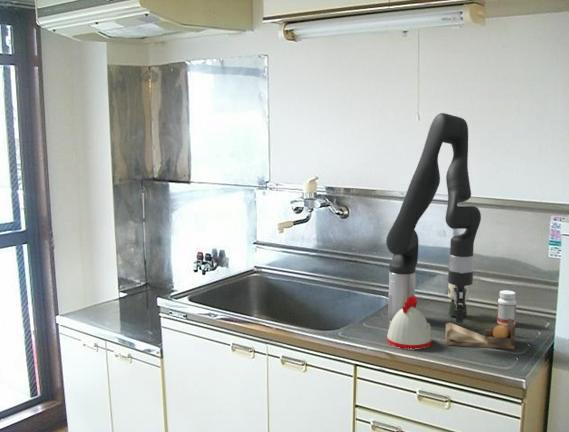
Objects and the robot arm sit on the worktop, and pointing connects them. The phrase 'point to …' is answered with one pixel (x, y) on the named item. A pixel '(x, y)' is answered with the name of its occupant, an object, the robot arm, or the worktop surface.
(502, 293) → the pill bottle
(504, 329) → the ball
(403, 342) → the white dome
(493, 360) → the worktop surface
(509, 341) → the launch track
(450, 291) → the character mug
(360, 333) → the worktop surface
